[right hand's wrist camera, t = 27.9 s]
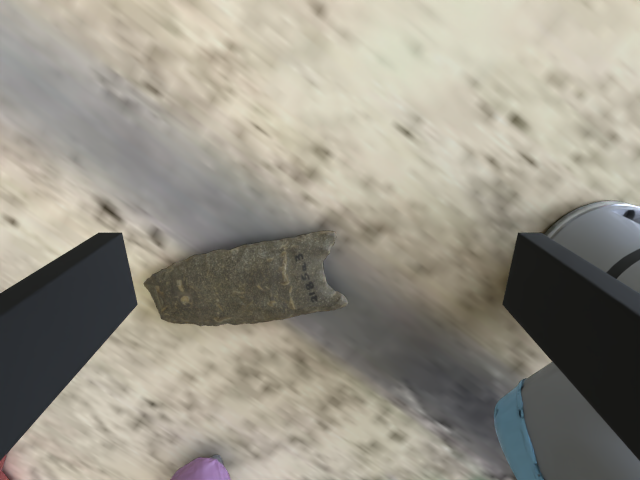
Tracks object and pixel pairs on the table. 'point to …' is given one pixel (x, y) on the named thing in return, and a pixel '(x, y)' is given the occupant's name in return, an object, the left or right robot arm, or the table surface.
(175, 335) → the table surface
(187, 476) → the toy character
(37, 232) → the table surface
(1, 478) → the plaque
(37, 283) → the right robot arm
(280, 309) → the stone tool
